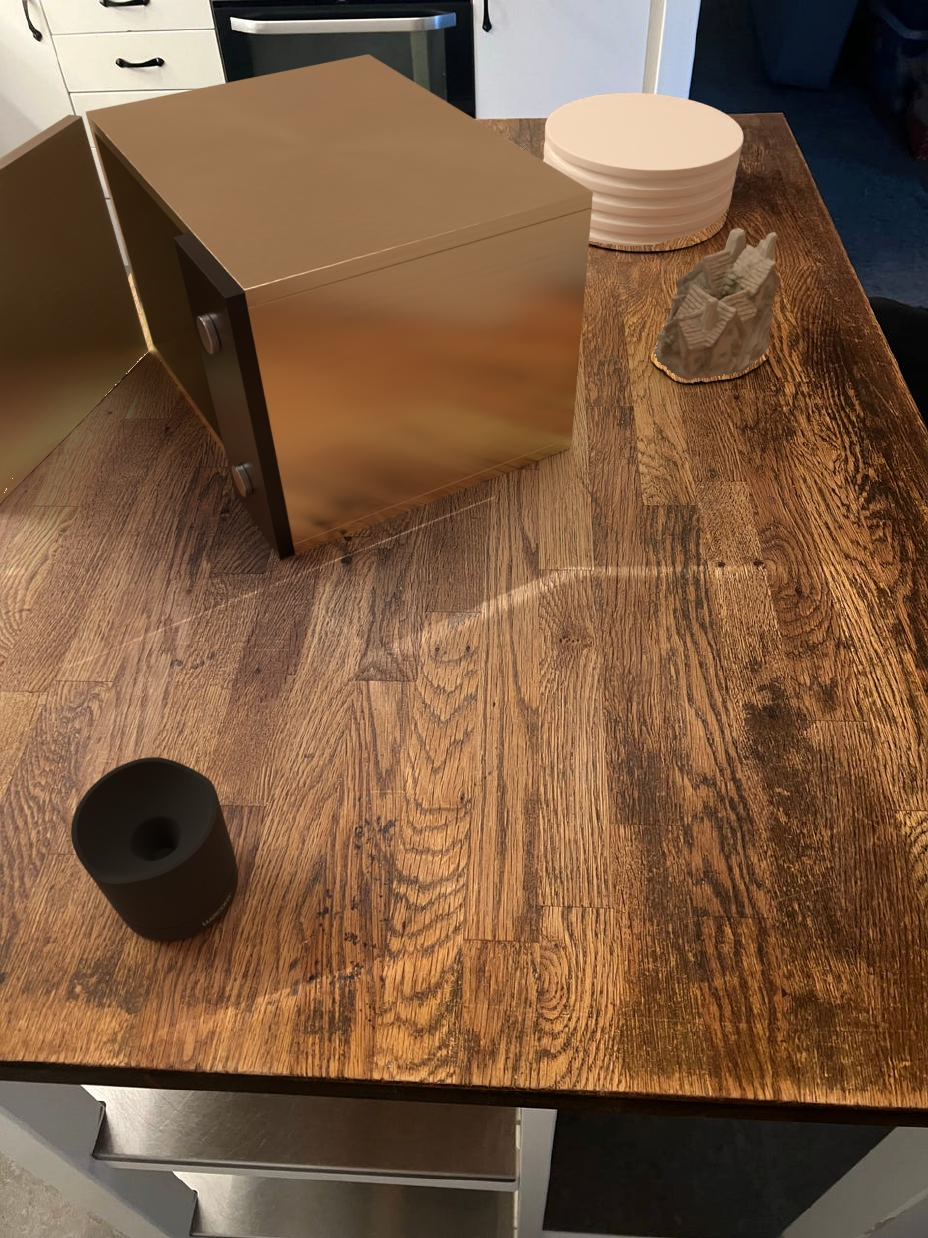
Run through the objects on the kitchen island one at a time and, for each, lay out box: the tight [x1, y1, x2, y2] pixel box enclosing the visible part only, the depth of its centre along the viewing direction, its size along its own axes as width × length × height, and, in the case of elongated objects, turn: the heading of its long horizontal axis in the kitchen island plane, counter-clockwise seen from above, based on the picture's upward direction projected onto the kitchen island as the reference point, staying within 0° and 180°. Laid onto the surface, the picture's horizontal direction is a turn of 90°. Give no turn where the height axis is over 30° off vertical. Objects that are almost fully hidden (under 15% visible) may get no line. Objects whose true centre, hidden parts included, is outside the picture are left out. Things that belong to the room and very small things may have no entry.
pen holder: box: [70, 756, 239, 943], centre depth 67 cm, size 9×9×10 cm
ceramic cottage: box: [652, 227, 782, 380], centre depth 114 cm, size 16×16×15 cm
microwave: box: [85, 53, 593, 561], centre depth 102 cm, size 35×44×28 cm
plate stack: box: [542, 92, 744, 246], centre depth 141 cm, size 28×28×12 cm
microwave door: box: [0, 114, 150, 505], centre depth 100 cm, size 8×32×28 cm, turn 163°
